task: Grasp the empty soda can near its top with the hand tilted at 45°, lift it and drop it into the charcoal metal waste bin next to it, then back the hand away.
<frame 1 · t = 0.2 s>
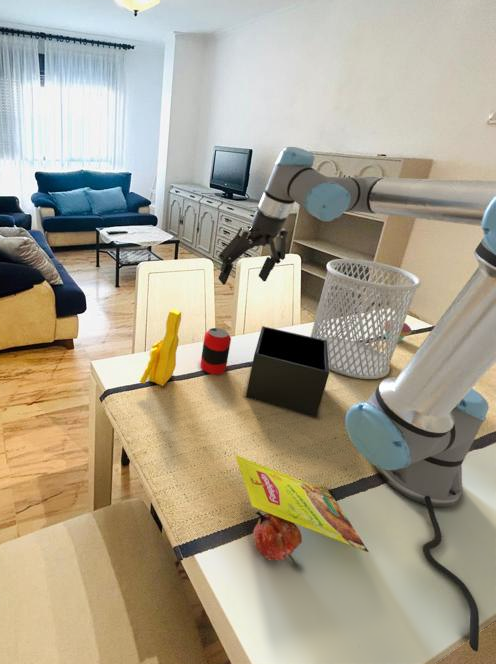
hand: (242, 280, 108), 28 cm above the table, tool tilted 15°, fingers open, 13 cm apart
bin: (282, 388, 108), on the table
soda can: (212, 368, 116), on the table
cupcake: (392, 339, 140), on the table
wastebasket: (345, 357, 126), on the table
food package: (347, 519, 69), point 2 cm above the table
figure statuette: (160, 380, 109), on the table
pomegranate: (274, 551, 65), on the table
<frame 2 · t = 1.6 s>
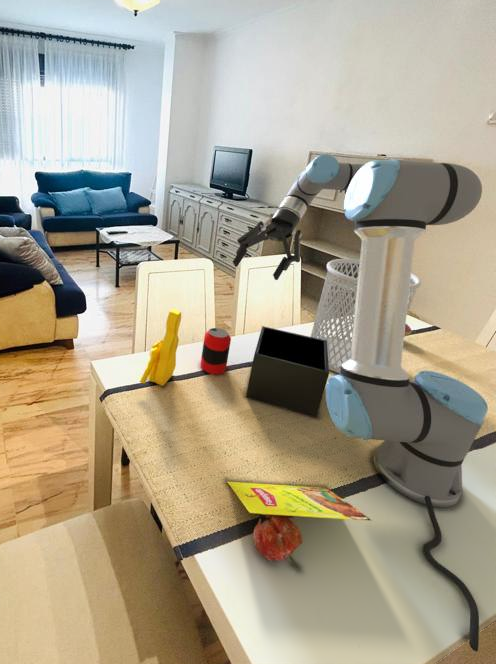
hand: (254, 270, 115), 28 cm above the table, tool tilted 45°, fingers open, 13 cm apart
food package: (347, 502, 70), point 4 cm above the table, touching pomegranate
pomegranate: (274, 551, 65), on the table, touching food package
everything else where it was.
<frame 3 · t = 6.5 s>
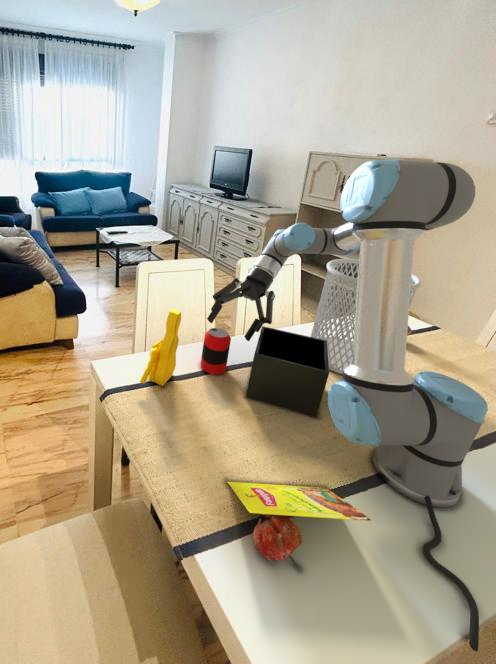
hand: (227, 329, 116), 11 cm above the table, tool tilted 45°, fingers open, 13 cm apart
nothing on the table moved.
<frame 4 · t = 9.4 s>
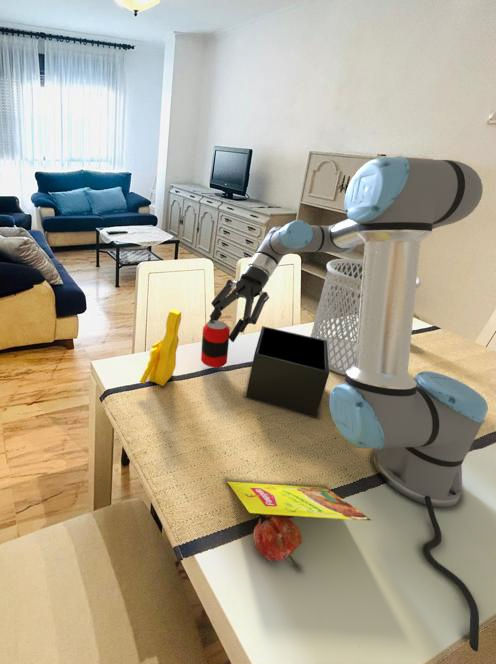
hand: (219, 334, 113), 11 cm above the table, tool tilted 45°, fingers closed on soda can, 7 cm apart
soda can: (213, 361, 114), point 2 cm above the table, touching gripper
everything else where it was.
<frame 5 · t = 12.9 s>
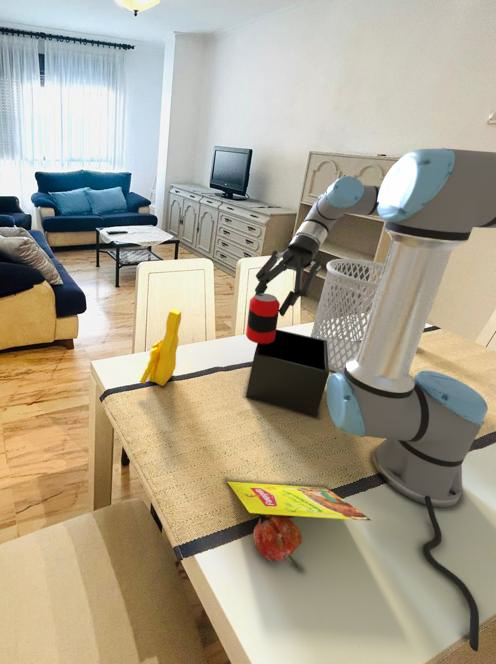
hand: (267, 308, 104), 22 cm above the table, tool tilted 45°, fingers closed on soda can, 7 cm apart
soda can: (260, 338, 106), point 14 cm above the table, touching gripper
everything else where it was.
when the fingers open (15 cm above the table, at t = 16.6 s): soda can drops 6 cm, resting on bin.
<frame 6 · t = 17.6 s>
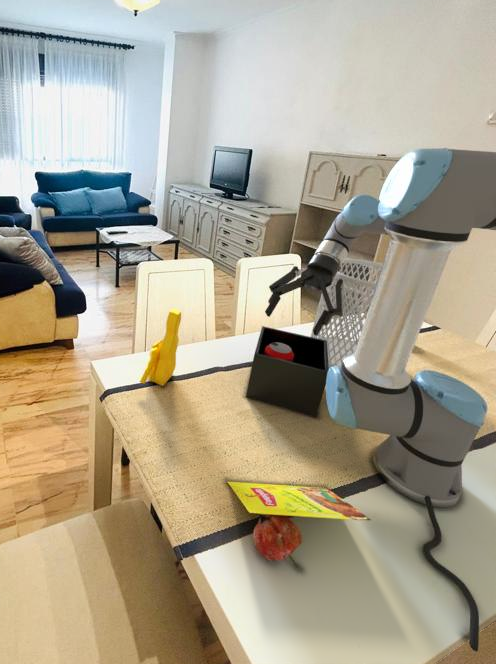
hand: (289, 323, 104), 19 cm above the table, tool tilted 45°, fingers open, 13 cm apart
soda can: (271, 384, 109), resting on bin
everything else where it was.
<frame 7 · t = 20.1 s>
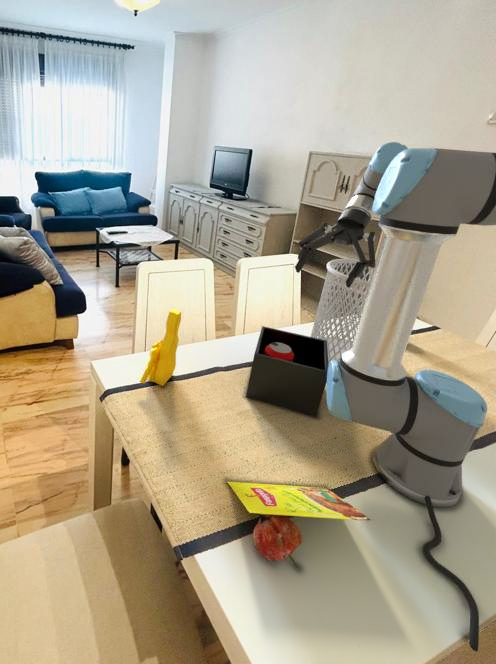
hand: (321, 277, 103), 31 cm above the table, tool tilted 45°, fingers open, 13 cm apart
nothing on the table moved.
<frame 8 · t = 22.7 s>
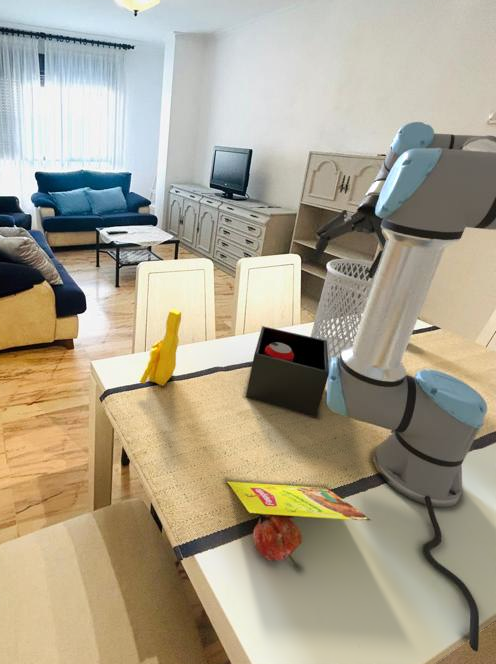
hand: (341, 267, 97), 36 cm above the table, tool tilted 45°, fingers open, 13 cm apart
nothing on the table moved.
at the end: soda can inside the target area in the bin (2.9 cm from its centre), point 0.3 cm above the bin's base; the gripper is holding nothing; soda can moved 17.2 cm from its start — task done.
